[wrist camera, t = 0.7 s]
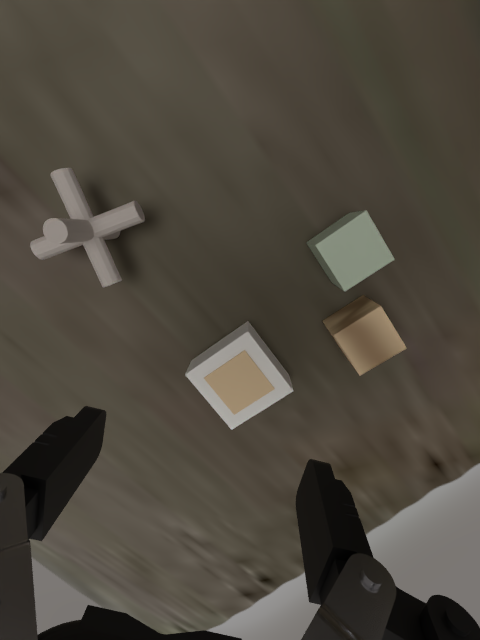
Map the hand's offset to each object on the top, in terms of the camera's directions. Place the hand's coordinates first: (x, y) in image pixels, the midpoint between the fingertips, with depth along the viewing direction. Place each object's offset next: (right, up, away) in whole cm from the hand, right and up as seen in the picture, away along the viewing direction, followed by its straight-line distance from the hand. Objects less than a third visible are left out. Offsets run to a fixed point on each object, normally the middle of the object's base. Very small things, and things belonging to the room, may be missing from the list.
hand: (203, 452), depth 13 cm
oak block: (+14, +4, +23) cm, 27 cm away
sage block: (+12, +12, +21) cm, 27 cm away
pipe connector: (-12, +14, +21) cm, 28 cm away
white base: (+2, 0, +25) cm, 25 cm away
